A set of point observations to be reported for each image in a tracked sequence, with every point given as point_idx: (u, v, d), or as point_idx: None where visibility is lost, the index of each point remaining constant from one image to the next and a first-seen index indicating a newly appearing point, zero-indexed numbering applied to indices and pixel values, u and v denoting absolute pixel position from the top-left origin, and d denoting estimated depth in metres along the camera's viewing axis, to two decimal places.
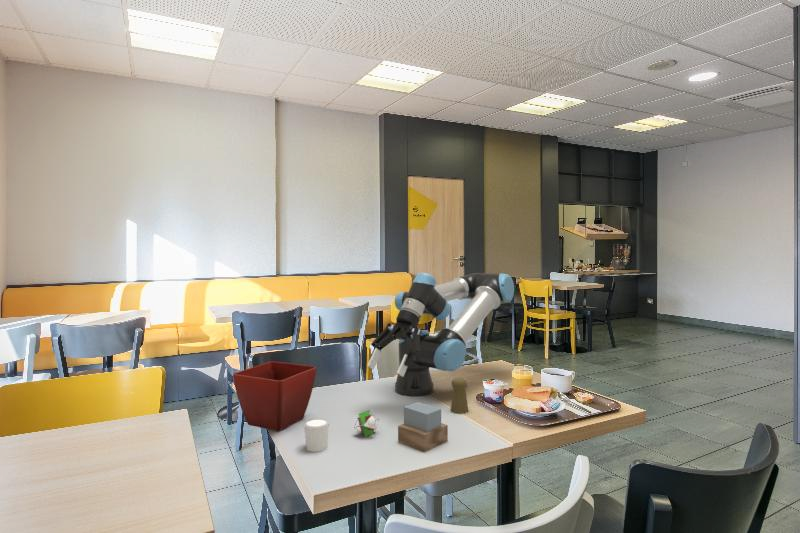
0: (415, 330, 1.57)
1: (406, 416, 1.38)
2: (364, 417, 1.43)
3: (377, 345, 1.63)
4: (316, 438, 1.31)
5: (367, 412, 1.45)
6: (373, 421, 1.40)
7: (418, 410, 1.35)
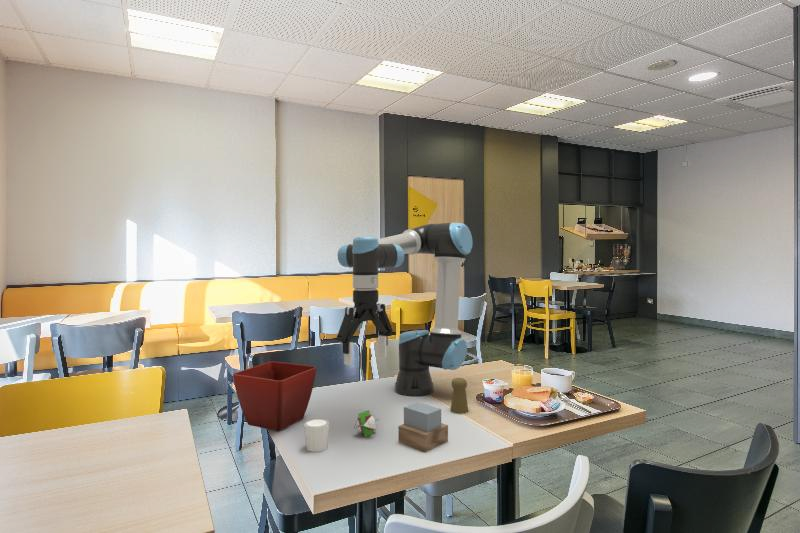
0: (383, 308, 1.46)
1: (406, 416, 1.37)
2: (364, 417, 1.43)
3: (350, 338, 1.36)
4: (316, 438, 1.31)
5: (367, 412, 1.45)
6: (373, 421, 1.40)
7: (418, 410, 1.35)
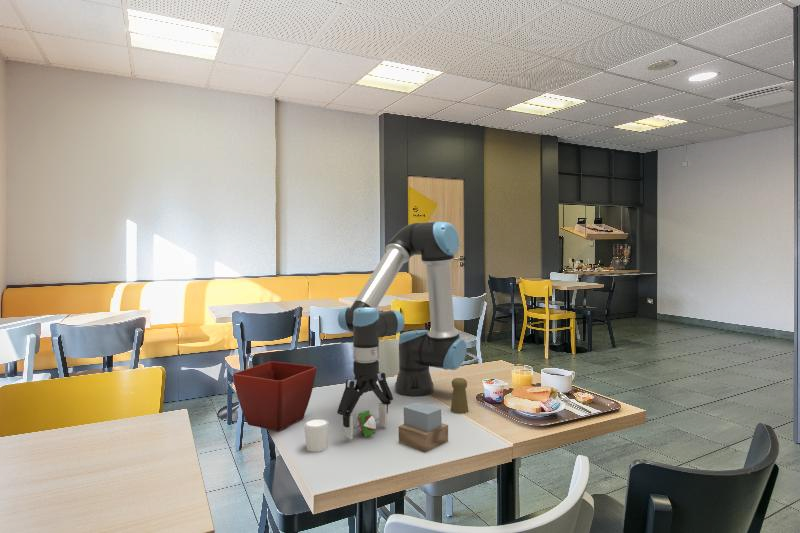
0: (384, 377, 1.46)
1: (406, 417, 1.37)
2: (364, 417, 1.43)
3: (351, 412, 1.37)
4: (316, 438, 1.31)
5: (367, 412, 1.45)
6: (373, 421, 1.40)
7: (419, 410, 1.35)
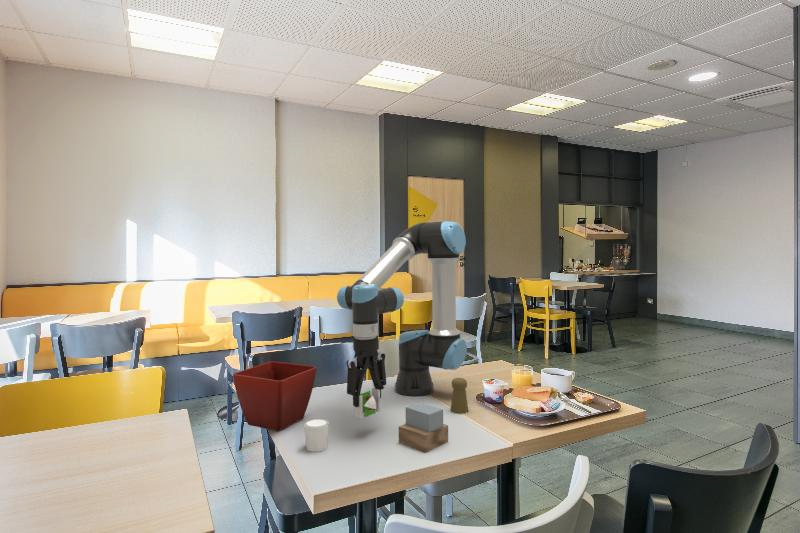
0: (383, 357, 1.46)
1: (407, 417, 1.37)
2: (365, 397, 1.43)
3: (360, 391, 1.39)
4: (316, 438, 1.31)
5: (368, 392, 1.45)
6: (373, 401, 1.40)
7: (420, 411, 1.34)
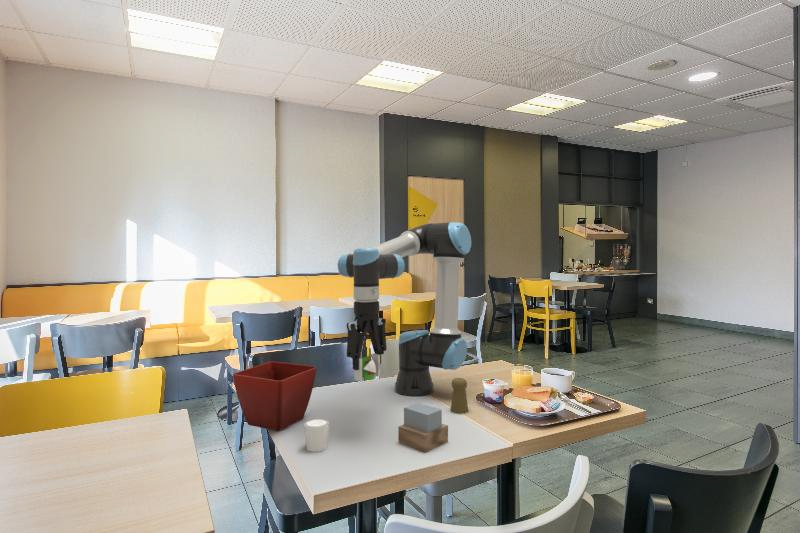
0: (384, 323, 1.45)
1: (406, 417, 1.37)
2: (364, 362, 1.42)
3: (359, 354, 1.39)
4: (316, 438, 1.31)
5: (368, 357, 1.44)
6: (373, 365, 1.39)
7: (419, 411, 1.34)
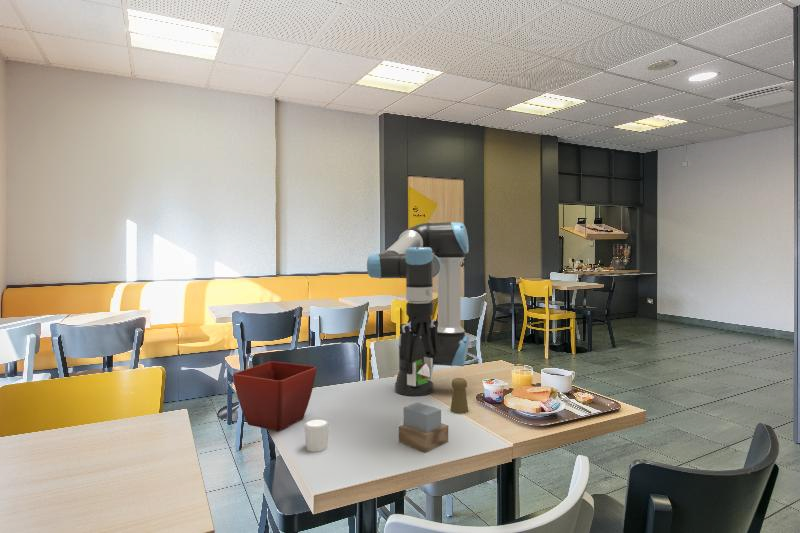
0: (436, 325, 1.39)
1: (405, 417, 1.37)
2: (417, 365, 1.37)
3: (413, 358, 1.33)
4: (316, 438, 1.31)
5: (420, 361, 1.38)
6: (427, 369, 1.34)
7: (418, 411, 1.34)
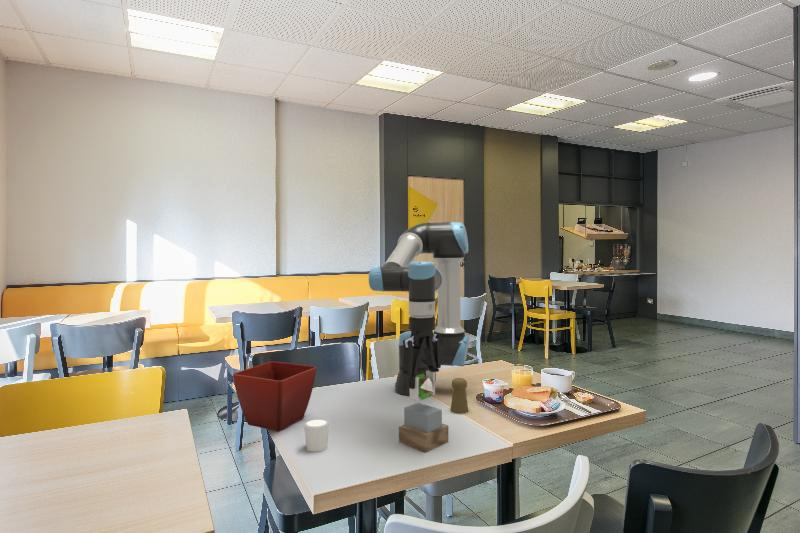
0: (438, 339, 1.40)
1: (406, 417, 1.37)
2: (420, 380, 1.37)
3: (416, 372, 1.33)
4: (316, 438, 1.31)
5: (422, 375, 1.38)
6: (430, 383, 1.34)
7: (419, 411, 1.34)
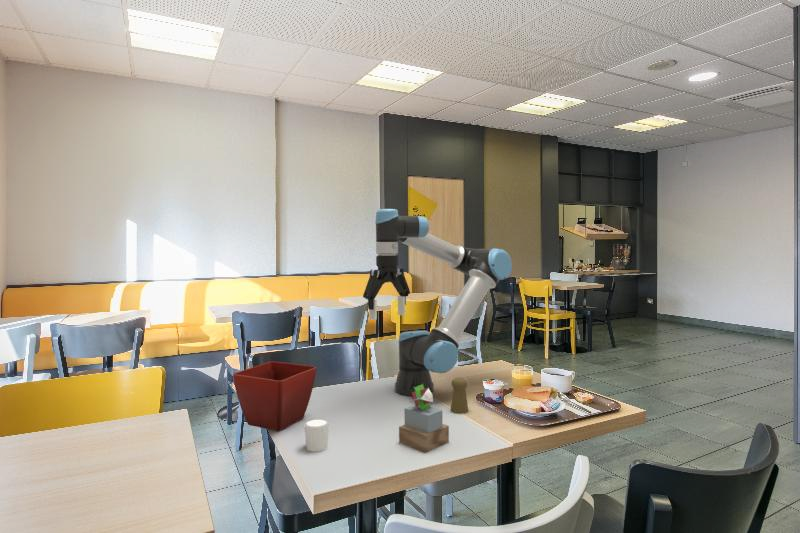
0: (402, 272, 1.67)
1: (406, 418, 1.36)
2: (419, 391, 1.37)
3: (375, 296, 1.58)
4: (316, 438, 1.31)
5: (421, 386, 1.38)
6: (430, 394, 1.34)
7: (419, 411, 1.34)
